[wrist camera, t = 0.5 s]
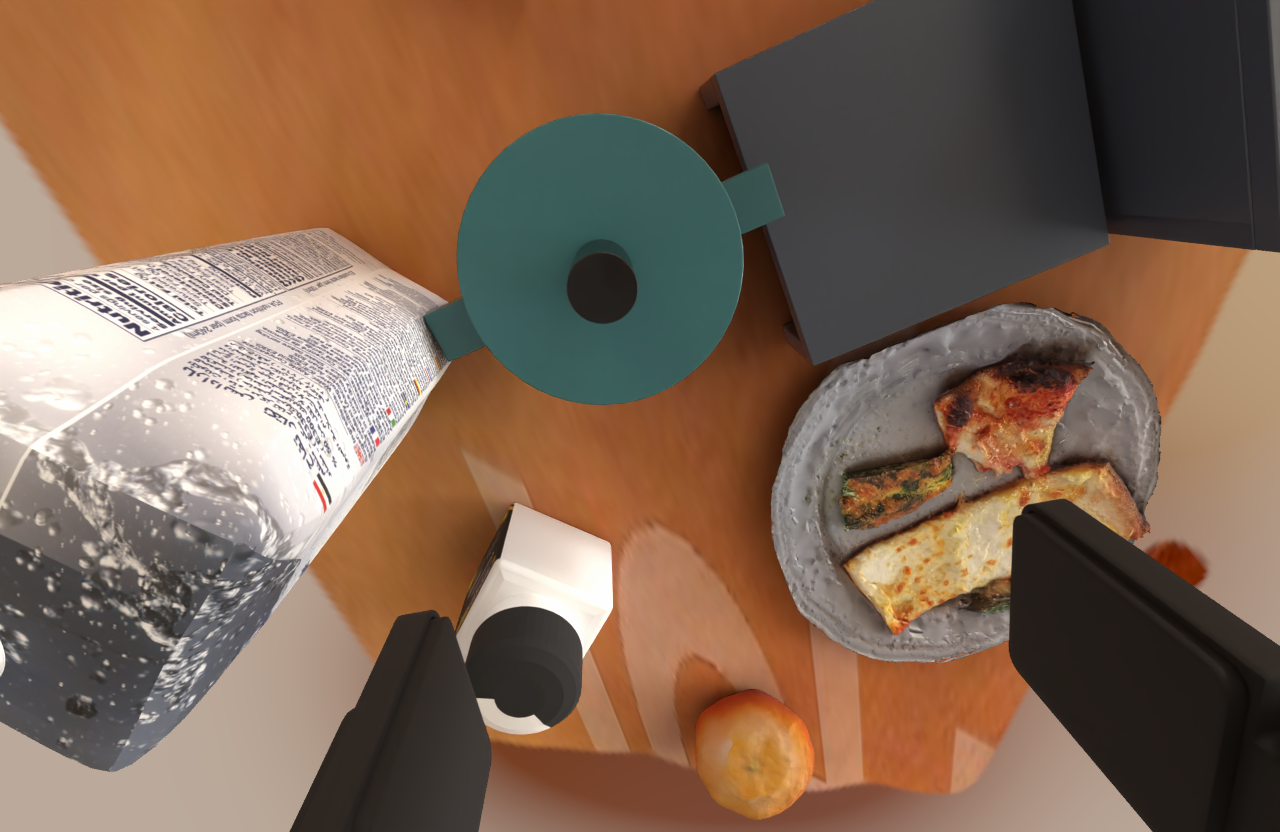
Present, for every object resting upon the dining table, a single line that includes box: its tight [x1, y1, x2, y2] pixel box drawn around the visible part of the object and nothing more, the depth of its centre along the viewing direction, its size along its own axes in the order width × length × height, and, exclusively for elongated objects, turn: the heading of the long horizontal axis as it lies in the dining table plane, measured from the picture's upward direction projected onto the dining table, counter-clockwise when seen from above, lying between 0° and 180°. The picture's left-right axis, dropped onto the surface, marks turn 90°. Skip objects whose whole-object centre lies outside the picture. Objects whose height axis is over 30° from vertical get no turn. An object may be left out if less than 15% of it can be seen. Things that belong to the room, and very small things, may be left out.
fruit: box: [695, 689, 814, 820], centre depth 47 cm, size 8×8×8 cm
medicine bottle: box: [455, 503, 613, 734], centre depth 38 cm, size 7×7×12 cm
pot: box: [424, 163, 785, 362], centre depth 33 cm, size 11×17×8 cm
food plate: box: [771, 302, 1161, 664], centre depth 42 cm, size 25×23×4 cm
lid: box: [457, 113, 744, 405], centre depth 27 cm, size 12×12×6 cm
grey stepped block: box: [699, 0, 1280, 366], centre depth 30 cm, size 15×26×13 cm, turn 113°
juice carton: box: [0, 228, 451, 772], centre depth 25 cm, size 9×10×27 cm
